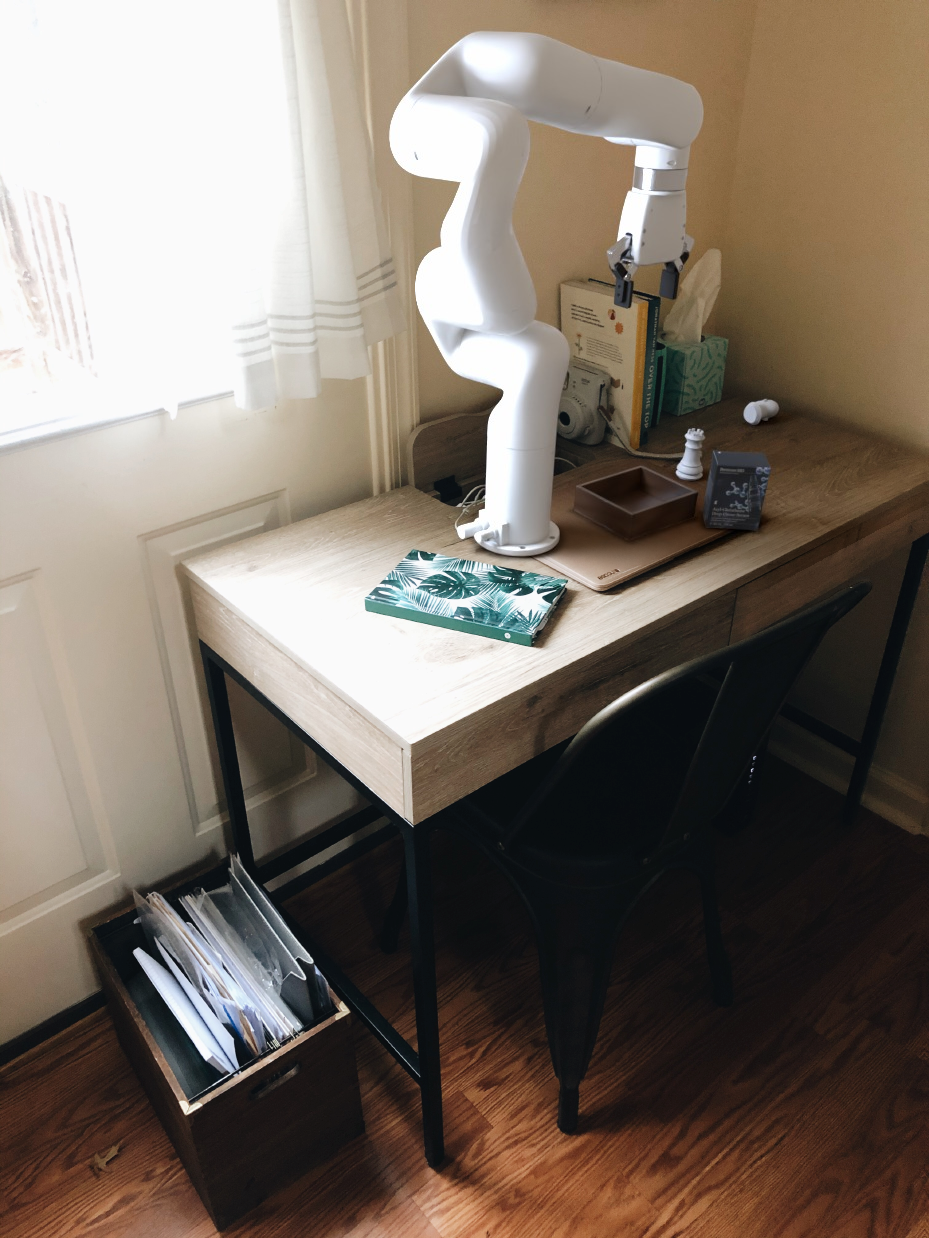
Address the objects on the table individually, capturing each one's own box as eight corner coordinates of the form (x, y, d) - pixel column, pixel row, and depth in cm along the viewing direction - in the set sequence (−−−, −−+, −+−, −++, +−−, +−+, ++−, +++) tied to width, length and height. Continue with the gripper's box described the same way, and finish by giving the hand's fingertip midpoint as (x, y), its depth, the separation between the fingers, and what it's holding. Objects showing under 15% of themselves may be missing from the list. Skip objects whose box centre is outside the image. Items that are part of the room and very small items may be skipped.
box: (705, 529, 145) (717, 464, 139) (701, 512, 149) (712, 449, 144) (758, 532, 144) (772, 467, 138) (752, 515, 149) (765, 451, 143)
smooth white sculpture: (761, 418, 188) (783, 418, 184) (734, 426, 184) (757, 426, 180) (760, 396, 187) (782, 395, 183) (733, 403, 183) (755, 403, 178)
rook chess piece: (686, 468, 164) (693, 424, 159) (707, 477, 161) (715, 432, 157) (669, 475, 161) (676, 430, 157) (690, 484, 158) (697, 438, 154)
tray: (628, 541, 141) (631, 515, 139) (573, 510, 149) (575, 485, 147) (694, 517, 148) (698, 491, 146) (638, 489, 156) (641, 465, 154)
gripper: (681, 173, 144) (666, 289, 154) (597, 181, 136) (586, 304, 145) (720, 179, 139) (702, 300, 148) (634, 188, 131) (621, 316, 140)
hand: (645, 302), depth 147 cm, fingers open, 9 cm apart
